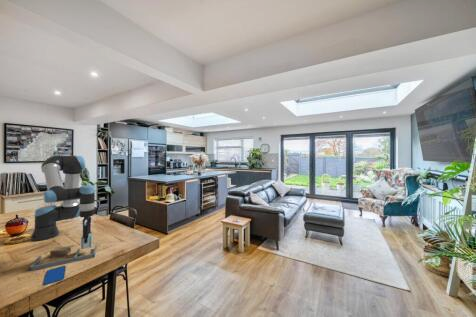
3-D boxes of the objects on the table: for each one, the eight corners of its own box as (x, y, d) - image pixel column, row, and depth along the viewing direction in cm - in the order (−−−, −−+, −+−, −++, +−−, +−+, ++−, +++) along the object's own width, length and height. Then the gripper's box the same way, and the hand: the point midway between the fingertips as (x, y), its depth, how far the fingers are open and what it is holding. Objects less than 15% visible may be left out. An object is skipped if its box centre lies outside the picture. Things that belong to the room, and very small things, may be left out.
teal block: (82, 246, 120) (82, 235, 120) (92, 244, 123) (92, 233, 123) (81, 249, 116) (81, 237, 116) (91, 247, 118) (91, 236, 118)
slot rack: (38, 259, 111) (38, 256, 111) (97, 247, 126) (97, 244, 126) (28, 271, 99) (28, 267, 99) (94, 257, 114) (94, 253, 114)
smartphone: (42, 285, 88) (47, 270, 99) (42, 287, 88) (47, 271, 99) (64, 278, 93) (65, 265, 104) (64, 280, 93) (65, 266, 104)
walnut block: (50, 257, 114) (56, 253, 118) (65, 256, 115) (70, 252, 120) (50, 251, 114) (56, 247, 118) (65, 250, 115) (70, 246, 120)
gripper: (82, 207, 125) (81, 242, 125) (76, 214, 110) (76, 253, 109) (96, 206, 129) (95, 239, 129) (92, 212, 114) (92, 250, 113)
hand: (86, 245), depth 119 cm, fingers closed on teal block, 5 cm apart
